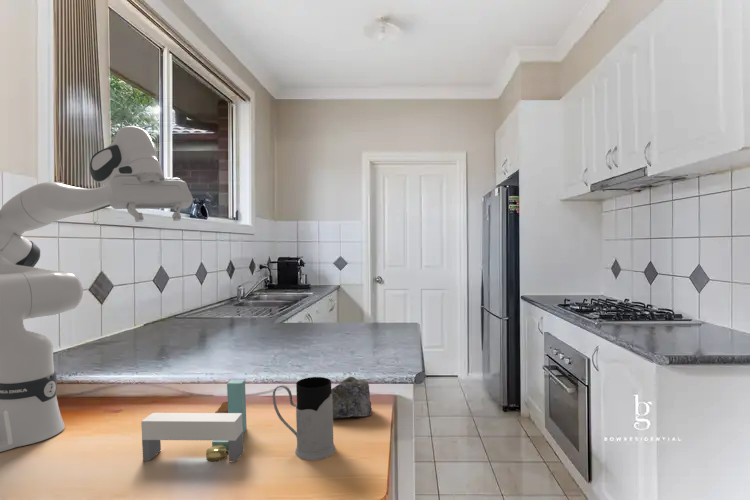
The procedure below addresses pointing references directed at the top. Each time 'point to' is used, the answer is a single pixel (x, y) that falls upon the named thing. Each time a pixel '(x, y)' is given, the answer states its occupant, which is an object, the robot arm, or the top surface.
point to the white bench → (192, 430)
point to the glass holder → (312, 418)
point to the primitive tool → (223, 408)
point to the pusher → (235, 405)
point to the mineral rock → (351, 398)
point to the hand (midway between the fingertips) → (159, 220)
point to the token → (216, 453)
